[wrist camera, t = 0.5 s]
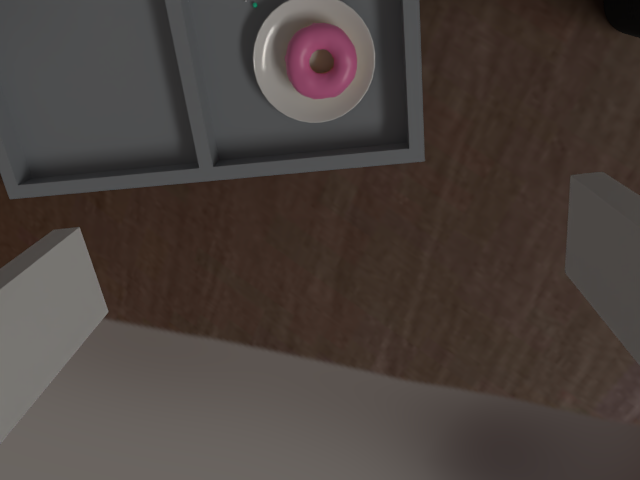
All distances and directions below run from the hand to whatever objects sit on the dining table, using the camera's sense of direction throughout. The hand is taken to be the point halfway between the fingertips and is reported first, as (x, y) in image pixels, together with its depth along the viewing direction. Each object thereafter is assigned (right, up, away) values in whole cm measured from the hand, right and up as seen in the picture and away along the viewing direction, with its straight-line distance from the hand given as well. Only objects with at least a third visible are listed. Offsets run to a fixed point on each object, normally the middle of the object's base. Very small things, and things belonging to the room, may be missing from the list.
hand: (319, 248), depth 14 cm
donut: (-2, +13, +22) cm, 26 cm away
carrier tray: (-9, +13, +23) cm, 28 cm away
